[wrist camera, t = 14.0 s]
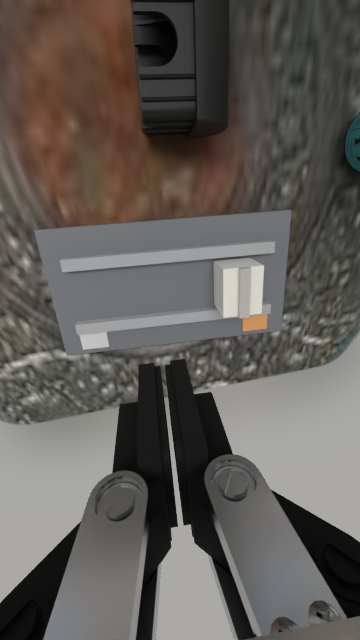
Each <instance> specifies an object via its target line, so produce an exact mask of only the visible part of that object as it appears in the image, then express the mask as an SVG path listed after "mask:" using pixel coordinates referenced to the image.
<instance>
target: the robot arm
mask: <svg viewBox="0 0 360 640" xmlns="http://www.w3.org/2000/svg"><path fill="white" fill-rule="evenodd" d="M165 371H166V380H167V389H168V399H169V407H170V417H171V426H172V434H173V442H174V451H175V459H176V467H177V475H178V483H179V491H180V499H181V507H182V515H183V523H184V525H189V524H191V529H192V536H193V537H194V542H195V544H197V545H198V546H199V547H200V548H201V549H203V550H204V551H205V552H206V553H207V554H208V556H209V561H210V564H211V567H212V571H213V574H214V577H215V580H216V584H217V587H218V589H219V593H220V596H221V600H222V603H223V606H224V609H225V612H226V616H227V619H228V622H229V625H230V628H231V632H232V634H233V638H234V640H360V542H358V541H357V540H356V539H354V538H353V537H352V536H350V535H348V534H346V533H345V532H343V531H341V530H340V529H338V528H336V527H335V526H332V525H331V524H329V523H328V522H326V521H324V520H322V519H321V518H319V517H317V516H316V515H314V514H312V513H310V512H309V511H307V510H305V509H303V508H302V507H300V506H298V505H296V504H294V503H293V502H291V501H290V500H288V499H286V498H284V497H283V496H281V495H279V494H277V493H276V492H274V491H272V490H271V489H270V488H269V486H268V484H267V483H266V481H265V479H264V478H263V476H262V474H261V473H260V471H259V470H258V468H257V467H256V466H255V465H254V464H253V463H252V462H251V461H249V460H248V459H246V458H244V457H241V456H239V455H233V453H232V450H231V447H230V444H229V442H228V439H227V436H226V433H225V430H224V427H223V424H222V421H221V418H220V415H219V412H218V410H217V407H216V404H215V401H214V398H213V395H212V393H211V392H208V393H201V394H194V393H193V389H192V385H191V381H190V377H189V373H188V369H187V365H186V361H185V359H181V360H173V361H170V365H165ZM177 526H178V524H177V514H176V505H175V496H174V486H173V476H172V468H171V458H170V448H169V438H168V429H167V420H166V412H165V403H164V394H163V386H162V377H161V369H160V366H157V367H155V366H154V363H149V364H141V365H139V387H138V402H134V403H127V404H121V405H120V408H119V417H118V426H117V436H116V445H115V454H114V463H113V473H112V474H110V475H107V476H106V477H105V478H103V479H102V480H101V481H99V483H98V484H97V485H96V486H95V487H94V489H93V490H92V492H91V495H90V497H89V499H88V502H87V505H86V508H85V511H84V515H83V517H82V521H81V522H80V523H79V524H78V525H77V526H76V527H75V528H74V529H73V530H72V531H71V532H70V533H69V534H68V535H67V536H66V537H65V538H64V539H63V540H62V541H61V542H60V543H59V544H58V545H57V546H56V547H55V548H54V549H53V550H52V551H51V552H50V553H49V554H48V555H47V556H46V557H45V558H44V559H43V560H42V561H41V562H40V563H39V564H38V565H37V566H36V567H35V568H34V569H33V570H32V571H31V572H30V573H29V574H28V575H27V576H26V577H25V578H24V579H23V580H22V581H21V582H20V583H19V584H18V585H17V587H15V588H14V589H13V590H12V592H11V593H10V594H9V595H8V596H7V597H6V598H5V599H4V600H3V601H2V602H1V603H0V640H156V629H157V615H158V601H159V588H160V574H161V561H162V560H163V559H164V557H165V556H166V554H167V552H168V551H169V550H170V548H171V540H172V538H171V528H172V527H177Z"/></svg>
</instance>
